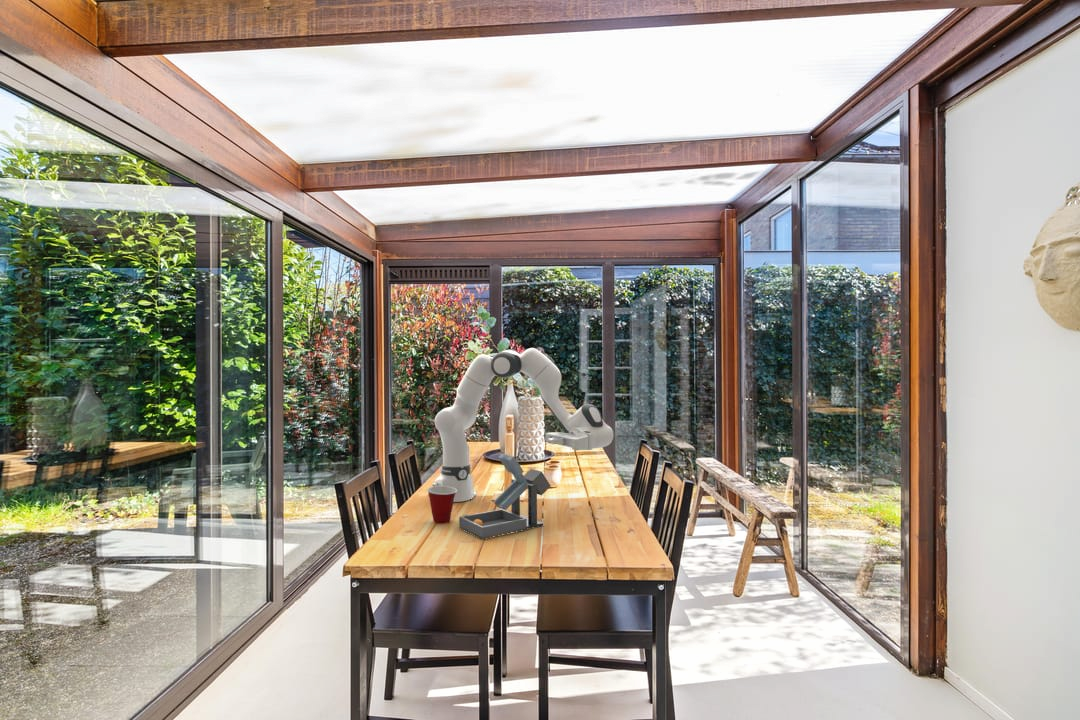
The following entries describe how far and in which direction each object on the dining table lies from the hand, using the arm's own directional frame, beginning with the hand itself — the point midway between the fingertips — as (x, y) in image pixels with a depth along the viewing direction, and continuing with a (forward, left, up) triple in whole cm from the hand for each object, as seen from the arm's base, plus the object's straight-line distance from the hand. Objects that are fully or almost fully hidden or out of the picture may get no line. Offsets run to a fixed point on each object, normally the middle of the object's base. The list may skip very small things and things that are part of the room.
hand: (549, 441), depth 222 cm
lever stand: (+3, -14, -28) cm, 31 cm away
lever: (+3, -12, -21) cm, 24 cm away
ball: (+3, -33, -25) cm, 41 cm away
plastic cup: (-16, -37, -28) cm, 49 cm away
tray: (+3, -27, -28) cm, 39 cm away
